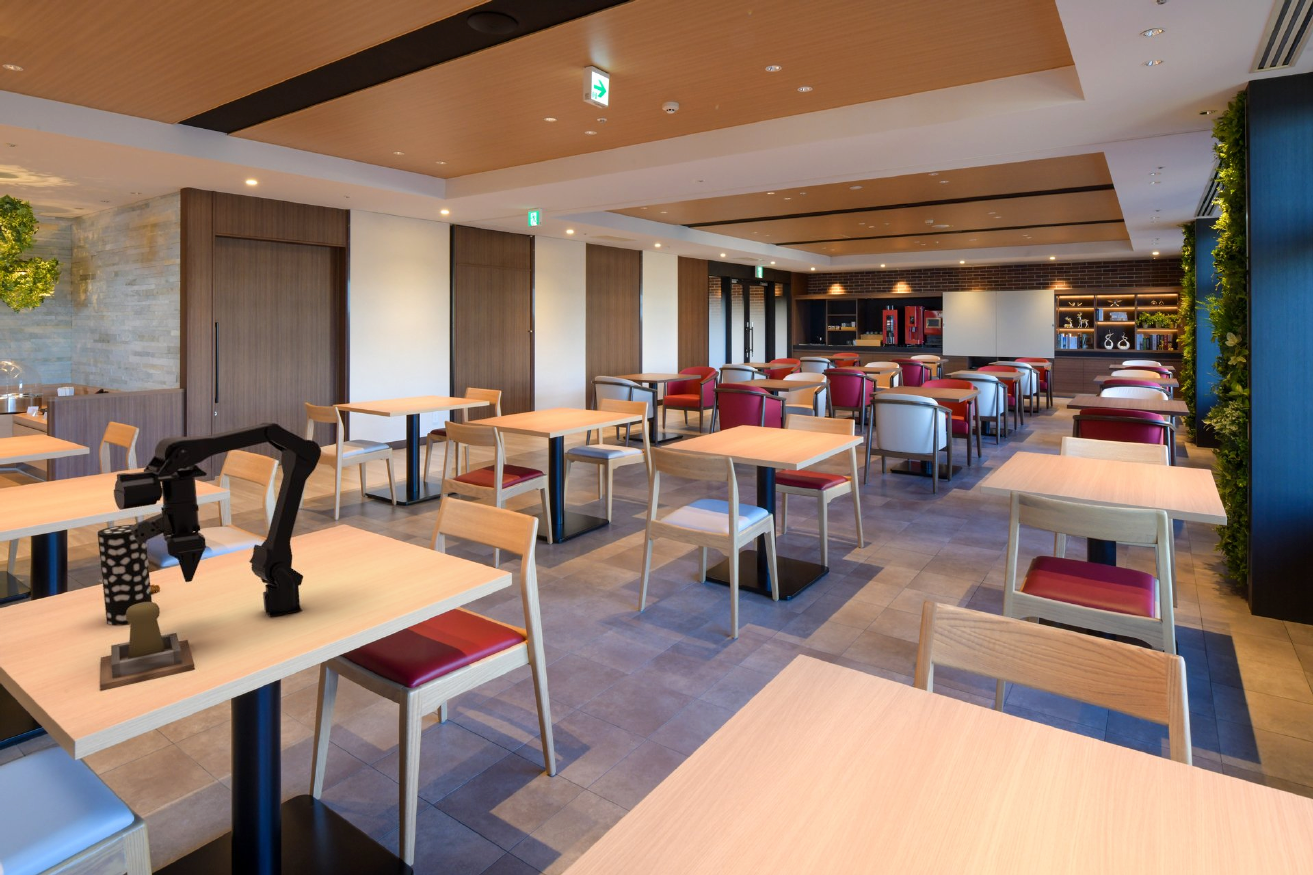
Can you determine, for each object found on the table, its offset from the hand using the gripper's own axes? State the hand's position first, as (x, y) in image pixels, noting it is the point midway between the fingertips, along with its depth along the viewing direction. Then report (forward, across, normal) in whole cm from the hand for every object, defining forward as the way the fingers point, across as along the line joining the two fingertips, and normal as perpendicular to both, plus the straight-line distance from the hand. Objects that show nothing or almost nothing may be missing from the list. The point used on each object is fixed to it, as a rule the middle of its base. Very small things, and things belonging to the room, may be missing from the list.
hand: (186, 575), depth 150 cm
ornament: (+14, -36, -9) cm, 39 cm away
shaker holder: (+13, +11, -8) cm, 19 cm away
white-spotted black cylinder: (+13, -20, -10) cm, 26 cm away
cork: (+12, +11, -8) cm, 18 cm away
